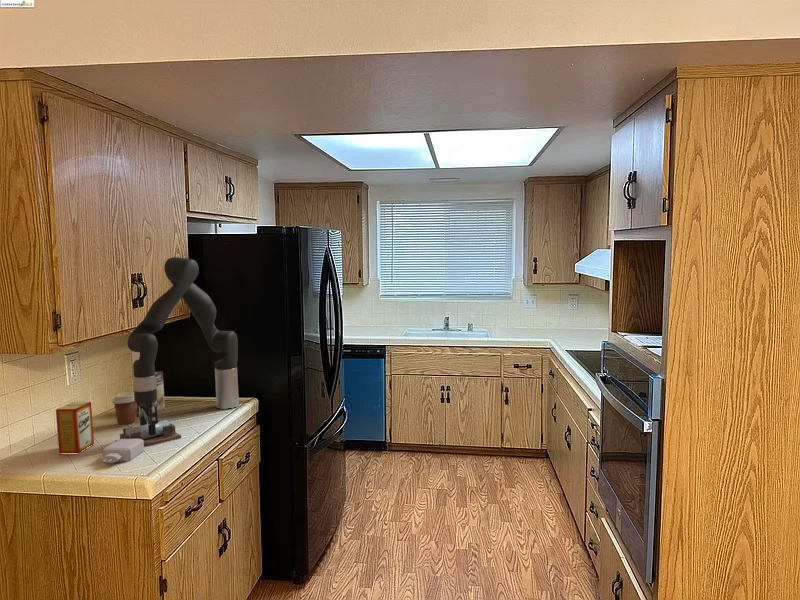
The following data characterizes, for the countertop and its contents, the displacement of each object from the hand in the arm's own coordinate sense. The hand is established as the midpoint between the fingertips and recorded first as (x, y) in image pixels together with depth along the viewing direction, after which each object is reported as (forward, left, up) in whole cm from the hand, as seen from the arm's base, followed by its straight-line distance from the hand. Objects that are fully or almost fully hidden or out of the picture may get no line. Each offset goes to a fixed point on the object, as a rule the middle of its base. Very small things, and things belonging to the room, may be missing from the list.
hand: (148, 432), depth 206 cm
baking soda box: (-9, -21, -3) cm, 23 cm away
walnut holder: (0, 0, -3) cm, 3 cm away
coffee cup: (-27, +1, -3) cm, 27 cm away
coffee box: (-40, +16, -3) cm, 43 cm away
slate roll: (0, 0, -2) cm, 2 cm away
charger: (+12, -14, -4) cm, 19 cm away
